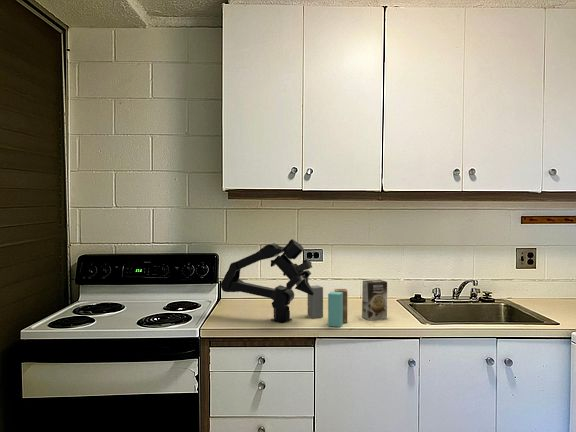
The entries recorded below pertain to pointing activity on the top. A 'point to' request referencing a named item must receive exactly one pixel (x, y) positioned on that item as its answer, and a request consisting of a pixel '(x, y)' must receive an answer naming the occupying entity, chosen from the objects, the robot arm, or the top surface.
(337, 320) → the teal block
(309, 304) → the charcoal block
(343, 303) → the walnut block
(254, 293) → the robot arm
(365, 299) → the coffee box
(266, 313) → the top surface
